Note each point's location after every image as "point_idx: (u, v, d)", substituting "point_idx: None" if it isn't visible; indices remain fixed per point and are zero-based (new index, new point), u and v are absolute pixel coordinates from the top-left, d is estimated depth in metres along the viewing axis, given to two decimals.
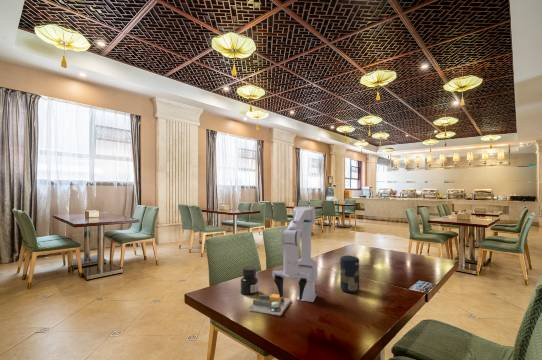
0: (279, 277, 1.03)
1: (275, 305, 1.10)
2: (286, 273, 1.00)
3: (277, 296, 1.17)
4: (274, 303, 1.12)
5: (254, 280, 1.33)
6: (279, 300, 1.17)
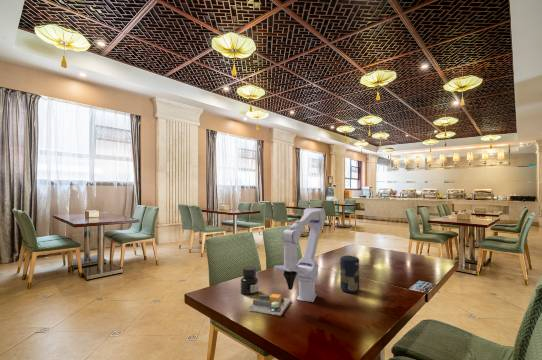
0: None
1: (275, 305, 1.10)
2: (286, 267, 1.15)
3: (277, 296, 1.17)
4: (274, 303, 1.12)
5: (254, 280, 1.33)
6: (279, 300, 1.17)
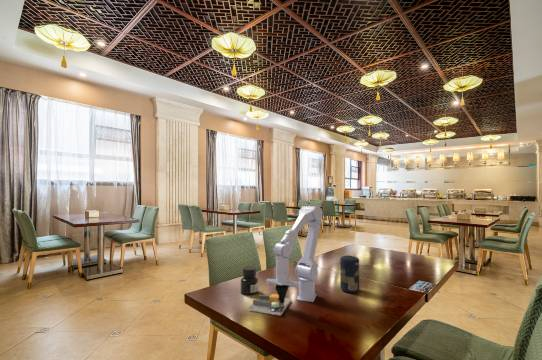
0: None
1: (275, 305, 1.10)
2: (278, 281, 1.15)
3: (277, 296, 1.17)
4: (274, 303, 1.12)
5: (254, 280, 1.33)
6: (279, 300, 1.17)
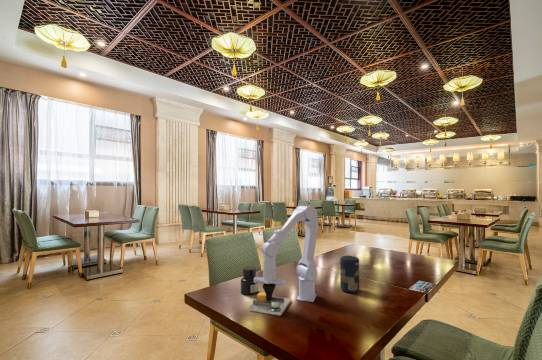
0: None
1: (275, 305, 1.10)
2: (265, 279, 1.17)
3: (264, 294, 1.19)
4: (274, 303, 1.12)
5: None
6: (266, 298, 1.19)
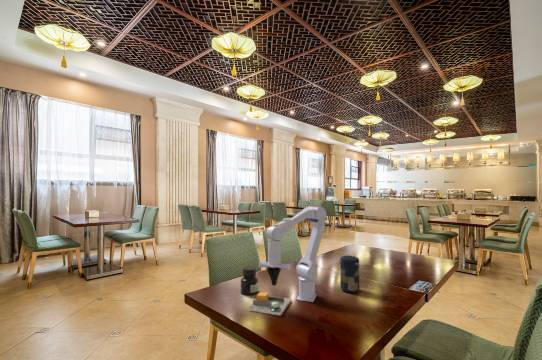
0: None
1: (275, 305, 1.10)
2: (270, 263, 1.17)
3: (264, 294, 1.19)
4: (274, 303, 1.12)
5: (254, 280, 1.33)
6: (266, 298, 1.19)
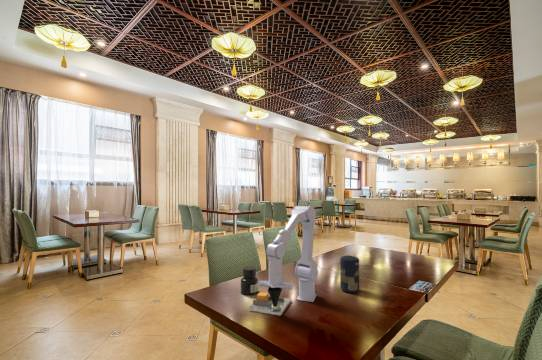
0: None
1: (275, 307, 1.10)
2: (270, 283, 1.10)
3: (264, 294, 1.19)
4: None
5: (254, 280, 1.33)
6: (266, 298, 1.19)
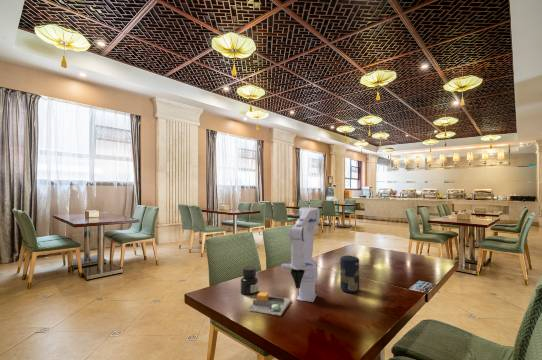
0: None
1: (275, 308, 1.10)
2: (293, 265, 1.11)
3: (264, 294, 1.19)
4: (274, 305, 1.11)
5: (254, 280, 1.33)
6: (266, 298, 1.19)
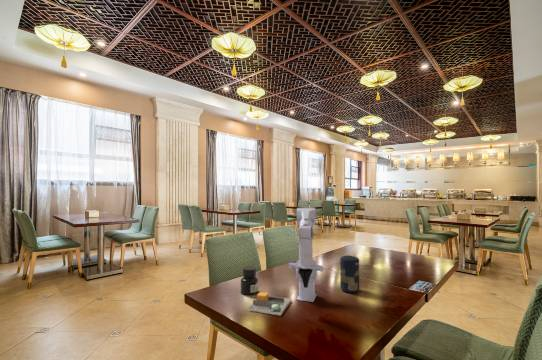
0: (295, 268, 1.14)
1: (275, 308, 1.10)
2: (302, 265, 1.11)
3: (264, 294, 1.19)
4: (274, 305, 1.11)
5: (254, 280, 1.33)
6: (266, 298, 1.19)
